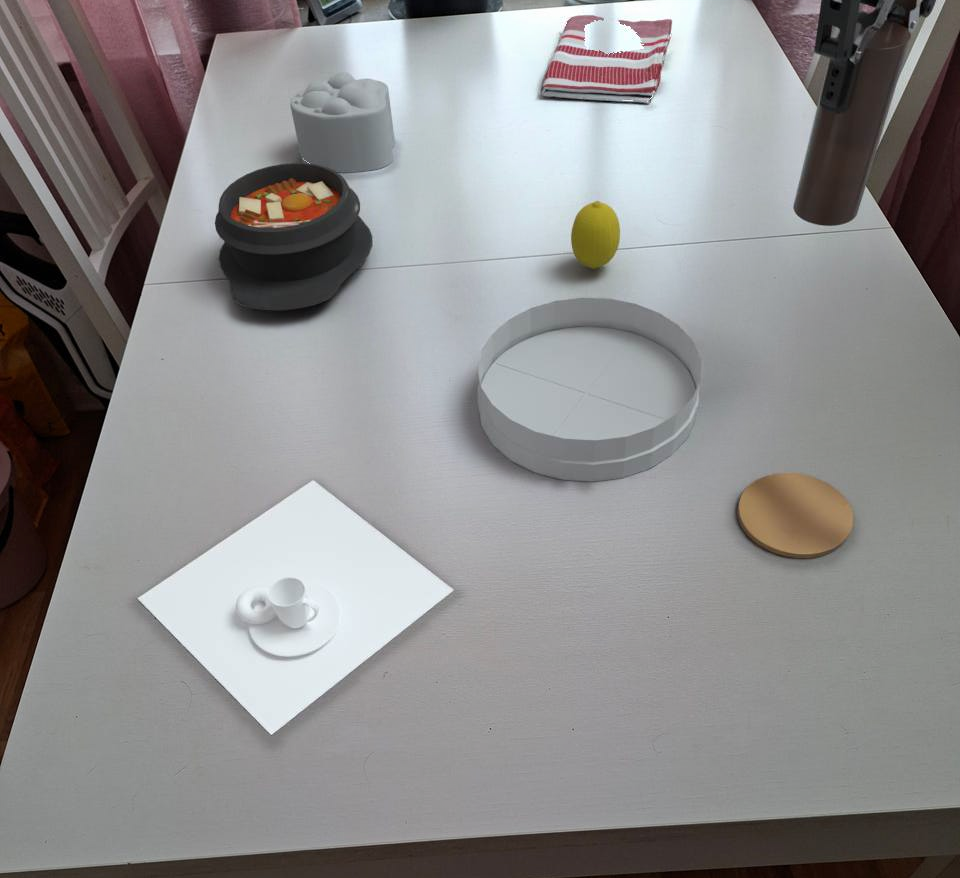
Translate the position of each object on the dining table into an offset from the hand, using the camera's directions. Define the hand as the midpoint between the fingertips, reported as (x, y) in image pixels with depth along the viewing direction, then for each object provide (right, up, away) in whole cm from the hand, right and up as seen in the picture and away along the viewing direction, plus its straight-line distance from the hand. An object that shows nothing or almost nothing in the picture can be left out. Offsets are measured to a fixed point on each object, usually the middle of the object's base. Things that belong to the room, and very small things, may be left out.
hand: (856, 95), depth 72 cm
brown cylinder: (0, -5, +8) cm, 10 cm away
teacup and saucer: (-47, -40, +6) cm, 62 cm away
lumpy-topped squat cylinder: (-49, +23, +51) cm, 75 cm away
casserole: (-53, +2, +36) cm, 64 cm away
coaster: (-2, -33, +8) cm, 34 cm away
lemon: (-17, -1, +32) cm, 37 cm away
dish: (-20, -20, +18) cm, 34 cm away
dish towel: (-11, +43, +62) cm, 76 cm away
